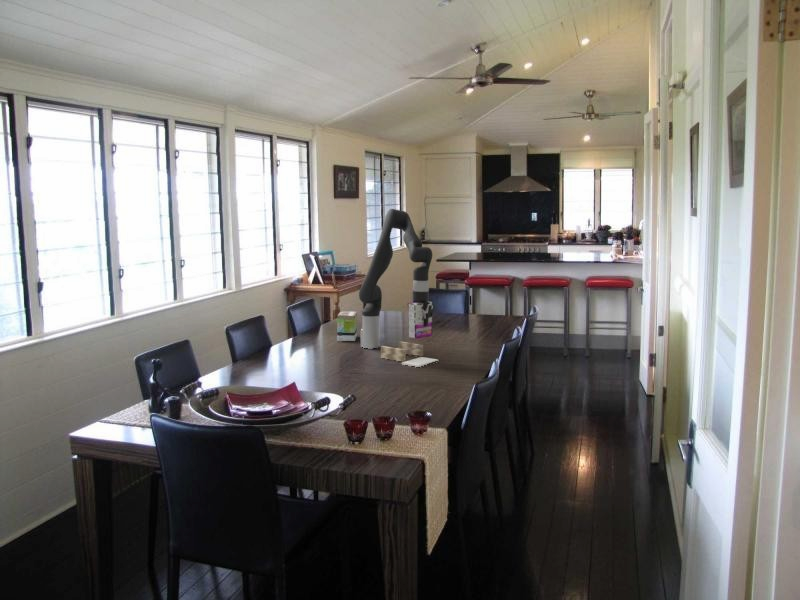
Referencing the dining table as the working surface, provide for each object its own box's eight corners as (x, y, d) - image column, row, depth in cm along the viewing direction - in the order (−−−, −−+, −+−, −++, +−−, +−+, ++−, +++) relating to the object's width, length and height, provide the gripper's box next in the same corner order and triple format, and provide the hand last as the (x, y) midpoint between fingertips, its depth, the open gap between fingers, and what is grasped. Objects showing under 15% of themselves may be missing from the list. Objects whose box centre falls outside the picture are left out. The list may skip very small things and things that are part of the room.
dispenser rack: (380, 358, 334) (380, 346, 333) (400, 352, 346) (400, 341, 345) (403, 362, 325) (404, 350, 324) (423, 356, 337) (423, 345, 336)
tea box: (355, 342, 373) (354, 315, 371) (336, 341, 373) (336, 315, 371) (357, 336, 388) (357, 310, 385) (339, 336, 388) (339, 310, 386)
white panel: (401, 364, 320) (401, 362, 320) (421, 358, 333) (421, 356, 333) (418, 367, 314) (418, 365, 314) (438, 361, 327) (438, 359, 327)
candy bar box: (425, 334, 327) (425, 300, 325) (432, 336, 324) (433, 301, 321) (407, 337, 320) (408, 302, 318) (414, 339, 316) (415, 304, 314)
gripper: (403, 289, 320) (403, 324, 323) (428, 292, 311) (428, 328, 314) (413, 287, 326) (413, 322, 328) (437, 290, 317) (437, 326, 320)
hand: (420, 325), depth 321 cm, fingers closed on candy bar box, 5 cm apart
